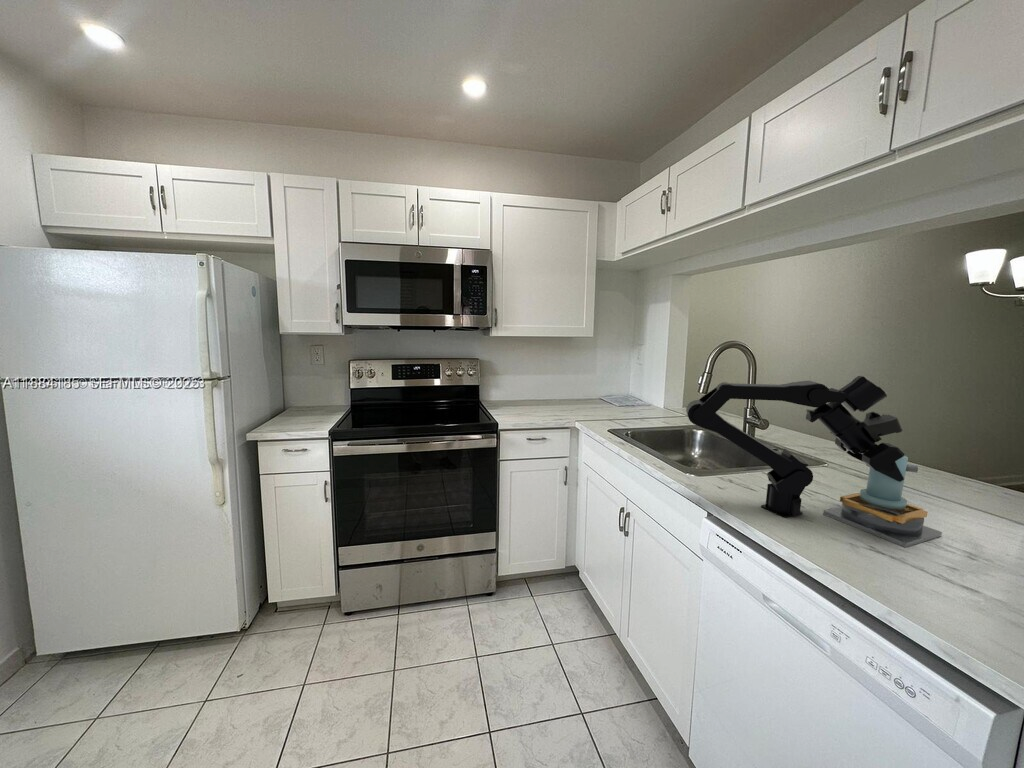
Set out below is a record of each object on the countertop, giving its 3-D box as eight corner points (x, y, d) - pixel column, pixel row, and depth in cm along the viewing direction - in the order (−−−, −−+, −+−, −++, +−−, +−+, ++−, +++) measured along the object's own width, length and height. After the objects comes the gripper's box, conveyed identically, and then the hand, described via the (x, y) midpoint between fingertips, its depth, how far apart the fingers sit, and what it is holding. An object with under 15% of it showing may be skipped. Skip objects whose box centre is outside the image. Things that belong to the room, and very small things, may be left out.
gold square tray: (823, 514, 98) (825, 494, 97) (857, 506, 103) (860, 487, 102) (905, 547, 83) (909, 524, 82) (941, 536, 88) (945, 514, 87)
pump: (864, 503, 91) (872, 449, 89) (855, 492, 98) (863, 441, 96) (916, 513, 87) (926, 456, 85) (903, 500, 93) (912, 447, 92)
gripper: (899, 410, 82) (959, 468, 80) (856, 396, 99) (905, 444, 97) (847, 442, 86) (903, 498, 83) (815, 423, 103) (861, 470, 101)
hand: (893, 475), depth 91 cm, fingers closed on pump, 6 cm apart
